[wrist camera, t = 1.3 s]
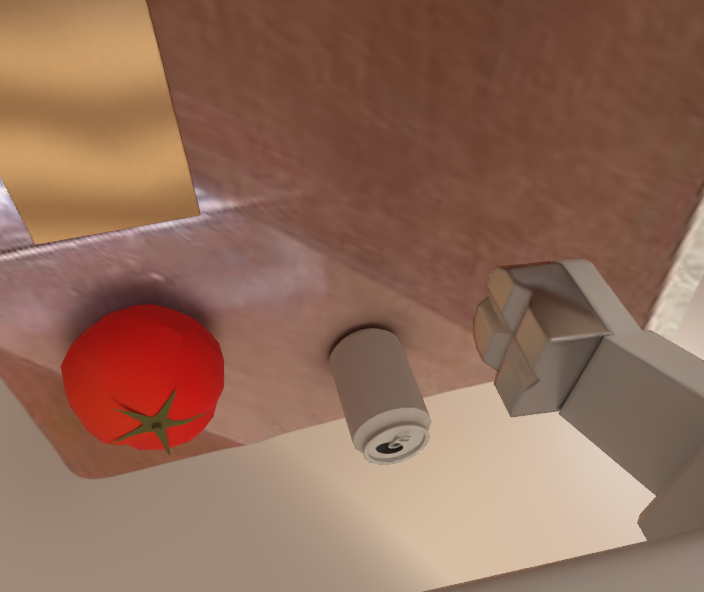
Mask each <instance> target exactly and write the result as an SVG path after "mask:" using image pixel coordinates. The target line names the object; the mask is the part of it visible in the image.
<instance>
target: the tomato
mask: <svg viewBox="0 0 704 592" xmlns="http://www.w3.org/2000/svg"><path fill="white" fill-rule="evenodd" d="M61 370H62V376H63V382H64V388H65V392H66V395H67V398H68V401H69V405H70V407H71V408H72V409H73V411H74V412H75V414H76V415H77V417H78V418H79V419H80V421H81V422H82V424H83V425H84V426H85V428H86V429H87V430H88V431H89V432H90V433H91V434H93V435H94V436H95V437H96V438H98V439H99V440H100V441H101V442H103V443H108V444H114V445H123V444H128V445H130V446H132V447H134V448H136V449H138V450H166V452H167V454H168V455H170V450H169V448H171V447H174V446H177V445H180V444H183V443H186V442H189V441H191V440H192V439H193V438H194V437H195V436H196V435H198V434H199V433H200V432H201V431H202V430H204V428H205V427H206V426H207V424H208V423H209V422H210V420H211V419H212V418H213V416H214V412H215V408H216V404H217V401H218V399H219V397H220V395H221V393H222V390H223V388H224V359H223V356H222V352H221V348H220V345H219V343H218V341H217V340H216V339H215V338H214V337H213V336H212V334H211V333H210V332H209V331H208V330H207V329H205V328H204V327H203V326H202V325H201V324H200V323H199V322H197V321H196V320H195V319H194V318H192V317H190V316H187V315H185V314H183V313H181V312H178V311H176V310H173V309H169V308H165V307H162V306H158V305H155V304H145V305H134V306H131V307H128V308H125V309H121V310H118V311H115V312H112V313H109V314H107V315H106V316H104V317H103V318H102V319H100V320H99V321H98V322H96V323H95V324H94V325H92V326H91V327H90V328H88V329H87V330H86V331H84V332H83V333H82V334H81V335H80V336H79V337H78V338H77V339H76V341H75V342H74V343H73V344H72V345H71V346H70V348H69V350H68V352H67V354H66V356H65V358H64V360H63V362H62V364H61Z"/></svg>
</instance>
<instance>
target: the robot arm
mask: <svg viewBox="0 0 704 592" xmlns="http://www.w3.org/2000/svg"><path fill="white" fill-rule="evenodd" d="M486 287H487V289H488V291H489V293H490V295H489V296H488V297H486V298H485V299H484V300H483V301H482V302H481V303H480V304H479V305H478V306H477V309H476V313H475V316H474V319H473V336H474V340H475V344H476V348H477V350H478V352H479V354H480V357H481V359H482V361H483V362H485V363H486V364H487V365H489V366H490V367H492V368H493V369H495V370H496V371H497V373H496V377H495V381H494V385H495V387H496V389H497V391H498V393H499V395H500V397H501V399H502V401H503V403H504V405H505V407H506V408H507V410H508V413H509V415H510V417H517V416H525V415H532V414H540V413H548V412H555V411H560V412H559V415H561V416H562V417H563V418H564V419H566V420H567V421H568V422H569V423H570V424H571V425H573V426H574V427H575V428H576V429H577V430H579V431H580V432H581V433H582V434H583V435H585V436H586V437H587V438H588V439H589V440H590V441H592V442H593V443H594V444H595V445H596V446H597V447H599V448H600V449H601V450H602V451H603V452H605V453H606V454H607V455H608V456H609V457H611V458H612V459H613V460H614V461H615V462H617V463H618V464H619V465H620V466H621V467H622V468H624V469H625V470H626V471H627V472H628V473H630V474H631V475H632V476H633V477H634V478H636V479H637V480H638V481H639V482H640V483H641V484H643V485H644V486H645V487H646V488H647V489H649V490H650V491H651V492H652V493H653V494H655V495H656V497H655V498H654V499H653V501H652V502H651V503H650V504H649V505H648V506H647V507H646V508H645V509H644V511H643V512H642V513H641V514H640V516H639V519H638V522H637V523H638V525H639V527H640V528H641V530H642V532H643V534H644V536H645V537H646V539H647V541H645V542H640V543H636V544H632V545H627V546H623V547H618V548H614V549H610V550H605V551H601V552H596V553H592V554H587V555H583V556H578V557H574V558H570V559H565V560H561V561H556V562H552V563H547V564H543V565H539V566H535V567H530V568H525V569H521V570H517V571H512V572H508V573H503V574H499V575H494V576H490V577H486V578H482V579H477V580H472V581H468V582H464V583H459V584H455V585H450V586H446V587H441V588H437V589H433V590H428V591H424V592H704V360H702V359H700V358H698V357H697V356H695V355H693V354H691V353H689V352H688V351H686V350H684V349H683V348H681V347H679V346H677V345H676V344H674V343H672V342H671V341H669V340H667V339H665V338H664V337H662V336H660V335H658V334H657V333H655V332H653V331H651V330H649V331H642V330H641V328H640V327H639V326H638V324H637V323H636V322H635V320H634V319H633V318H632V316H631V315H630V314H629V312H628V311H627V310H626V308H625V307H624V306H623V304H622V303H621V302H620V300H619V299H618V298H617V296H616V295H615V294H614V292H613V291H612V290H611V288H610V287H609V286H608V284H607V283H606V282H605V280H604V279H603V277H602V276H601V275H600V273H599V272H598V271H597V269H596V268H595V267H594V265H593V264H592V263H591V262H589V261H588V260H586V259H584V258H577V259H568V260H558V261H553V262H551V261H548V262H538V263H528V264H518V265H508V266H498V267H496V268H495V269H494V270H493V271H492V272H491V273H490V274H489V277H488V279H487V282H486Z"/></svg>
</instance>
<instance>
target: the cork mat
mask: <svg viewBox="0 0 704 592" xmlns="http://www.w3.org/2000/svg"><path fill="white" fill-rule="evenodd" d="M0 177H1V179H2V181H3V183H4V185H5V187H6V189H7V191H8V193H9V194H10V196H11V198H12V200H13V202H14V204H15V206H16V208H17V210H18V212H19V214H20V216H21V218H22V220H23V222H24V224H25V226H26V228H27V230H28V231H29V233H30V235H31V237H32V239H33V241H34V243H35V245H37V244H42V243H48V242H54V241H59V240H65V239H70V238H76V237H82V236H87V235H93V234H98V233H104V232H110V231H115V230H121V229H126V228H132V227H138V226H143V225H149V224H154V223H160V222H165V221H171V220H177V219H182V218H188V217H193V216H199V215H200V210H199V206H198V202H197V198H196V194H195V190H194V186H193V182H192V179H191V175H190V171H189V167H188V163H187V159H186V155H185V151H184V147H183V143H182V139H181V135H180V131H179V127H178V123H177V119H176V115H175V111H174V107H173V103H172V99H171V95H170V91H169V88H168V84H167V80H166V76H165V72H164V68H163V64H162V60H161V56H160V52H159V48H158V44H157V40H156V36H155V32H154V28H153V24H152V20H151V16H150V12H149V8H148V4H147V1H146V0H0Z"/></svg>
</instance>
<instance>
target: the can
mask: <svg viewBox="0 0 704 592" xmlns="http://www.w3.org/2000/svg"><path fill="white" fill-rule="evenodd" d="M330 367H331V370H332V373H333V377H334V380H335V384H336V387H337V390H338V394H339V397H340V401H341V404H342V408H343V411H344V414H345V418H346V421H347V424H348V428H349V431H350V435H351V438H352V441H353V444H354V446H355V448H356V449H357V450H358V451H360V452H361V453H363V454H364V457H365V459H366V460H368V461H369V462H370V463H374V464H378V465H388V464H394V463H398V462H401V461H404V460H407V459H409V458H411V457H413V456H415V455H416V454H418V453H419V452H420V451H421V450H422V449H424V447H425V446H426V445H427V443H428V441H429V438H430V436H429V432H428V430H429V427H430V424H431V419H430V416H429V413H428V411H427V408H426V406H425V403H424V401H423V398H422V396H421V393H420V391H419V388H418V386H417V383H416V381H415V378H414V376H413V373H412V371H411V368H410V366H409V363H408V361H407V358H406V356H405V353H404V351H403V348H402V346H401V343H400V341H399V339H398V338H397V337H396V335H395V334H393V333H391V332H389V331H386V330H380V329H374V328H368V329H361V330H358V331H355V332H353V333H351V334H349V335H348V336H346V337H345V338H343V339H342V340H341V341H340V342H339V344H338V345H337V346H336V347H335V348H334V350H333V352H332V353H331V355H330Z"/></svg>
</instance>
